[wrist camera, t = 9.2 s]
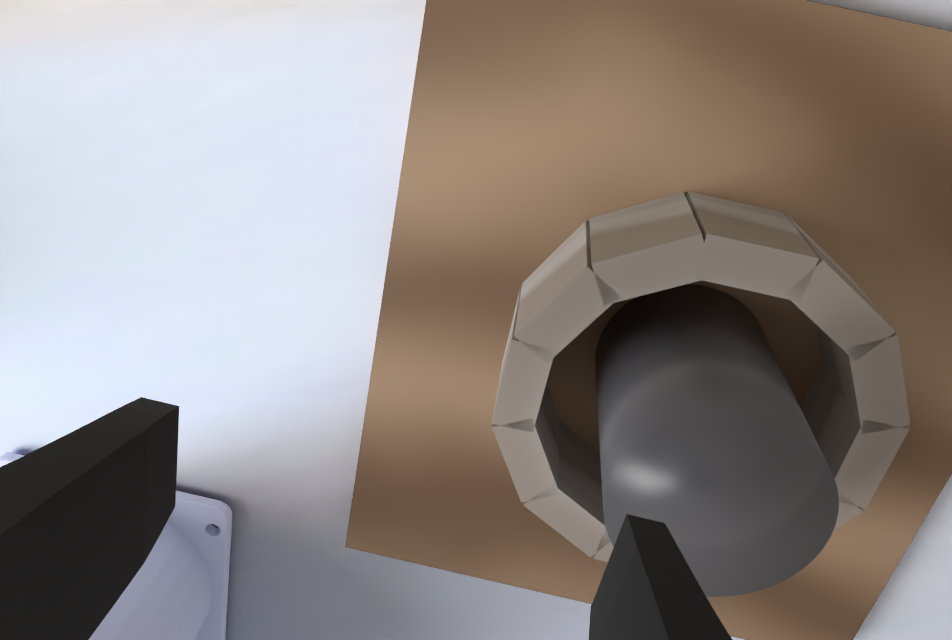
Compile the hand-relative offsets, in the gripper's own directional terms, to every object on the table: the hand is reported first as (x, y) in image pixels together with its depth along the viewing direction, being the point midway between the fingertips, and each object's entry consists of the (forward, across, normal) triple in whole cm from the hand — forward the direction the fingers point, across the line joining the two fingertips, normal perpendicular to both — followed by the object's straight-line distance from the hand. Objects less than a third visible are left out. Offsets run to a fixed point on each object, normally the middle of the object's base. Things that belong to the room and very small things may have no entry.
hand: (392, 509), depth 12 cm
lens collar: (+10, -6, +1) cm, 12 cm away
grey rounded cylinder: (+9, -6, +1) cm, 11 cm away
